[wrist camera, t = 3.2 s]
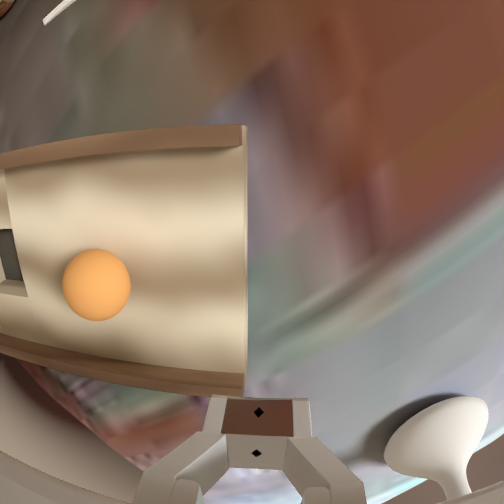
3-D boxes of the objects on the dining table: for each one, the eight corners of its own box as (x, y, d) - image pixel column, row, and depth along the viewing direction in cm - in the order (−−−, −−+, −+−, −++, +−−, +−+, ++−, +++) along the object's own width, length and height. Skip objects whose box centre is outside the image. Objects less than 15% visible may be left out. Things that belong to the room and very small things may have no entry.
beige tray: (-29, 162, 19) (-61, 171, 15) (246, 126, 17) (238, 124, 14) (7, 325, 25) (-16, 346, 21) (247, 361, 23) (242, 399, 19)
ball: (79, 238, 18) (41, 263, 14) (136, 239, 18) (103, 267, 14) (91, 297, 19) (59, 329, 15) (145, 302, 19) (119, 339, 15)
